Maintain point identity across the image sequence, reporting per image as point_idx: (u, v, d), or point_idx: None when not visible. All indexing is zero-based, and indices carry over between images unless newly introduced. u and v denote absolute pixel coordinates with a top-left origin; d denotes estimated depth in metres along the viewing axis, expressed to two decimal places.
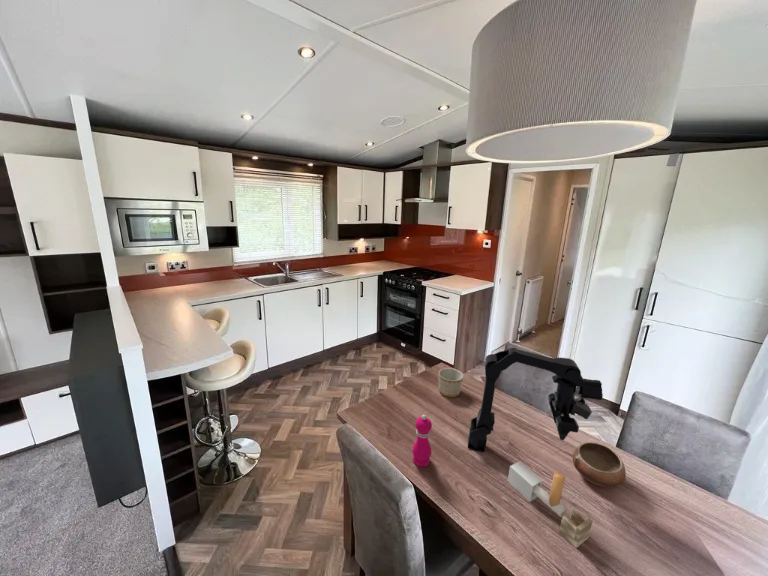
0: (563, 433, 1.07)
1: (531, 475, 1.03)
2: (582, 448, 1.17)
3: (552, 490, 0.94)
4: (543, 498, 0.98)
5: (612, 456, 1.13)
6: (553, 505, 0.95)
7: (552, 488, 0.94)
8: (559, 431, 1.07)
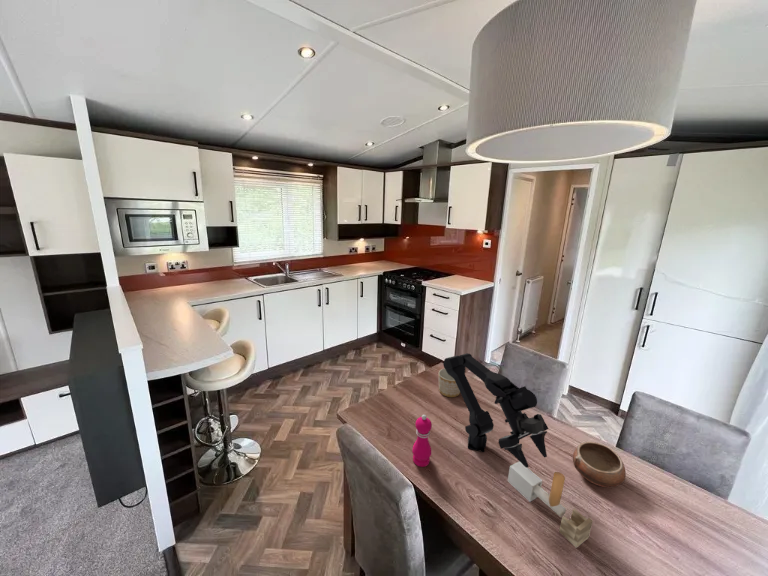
0: (519, 456, 0.99)
1: (531, 475, 1.03)
2: (582, 448, 1.17)
3: (552, 490, 0.94)
4: (543, 498, 0.98)
5: (612, 456, 1.13)
6: (553, 505, 0.95)
7: (552, 488, 0.94)
8: (514, 455, 1.00)
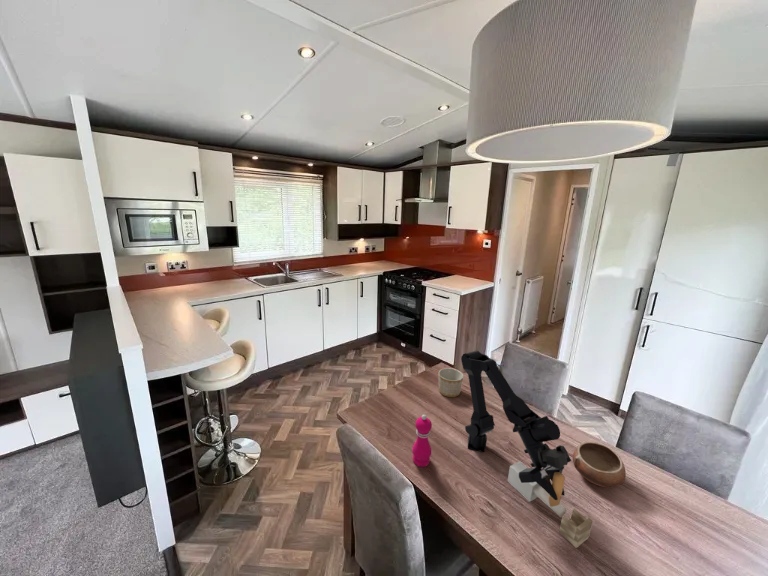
0: (547, 488, 0.94)
1: None
2: (582, 448, 1.17)
3: None
4: (543, 498, 0.98)
5: (612, 456, 1.13)
6: (553, 505, 0.95)
7: None
8: (542, 486, 0.95)
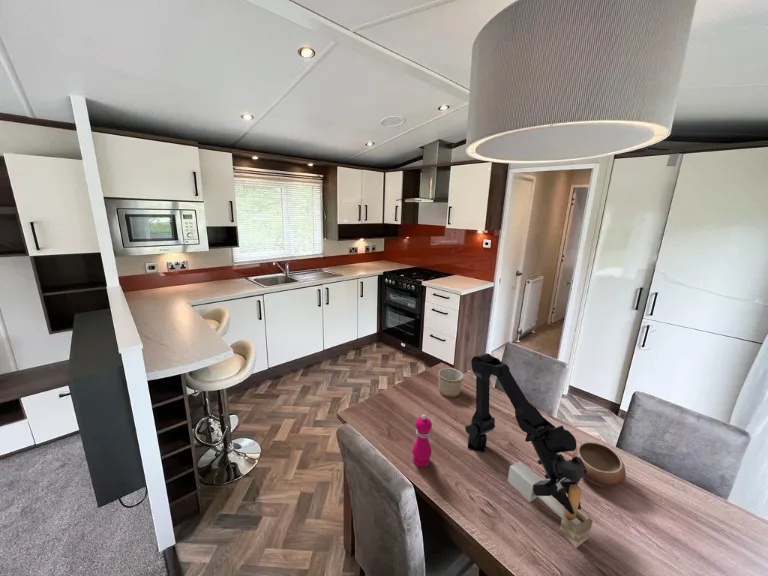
0: (563, 501, 0.90)
1: (531, 475, 1.03)
2: (582, 448, 1.17)
3: None
4: (558, 511, 0.93)
5: (612, 456, 1.13)
6: (569, 519, 0.90)
7: None
8: (557, 499, 0.91)
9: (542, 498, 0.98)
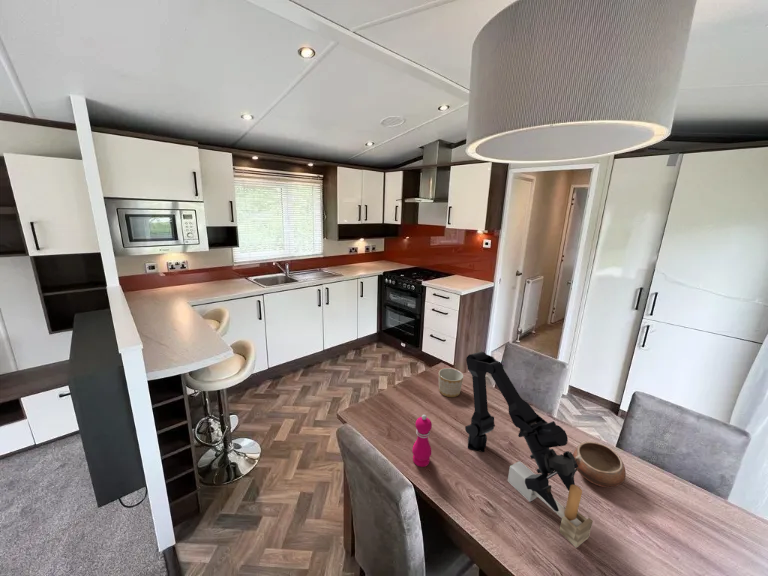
0: (548, 499, 0.91)
1: None
2: (582, 448, 1.17)
3: (568, 504, 0.90)
4: (558, 512, 0.93)
5: (612, 456, 1.13)
6: (569, 519, 0.90)
7: (568, 502, 0.90)
8: (542, 496, 0.92)
9: (542, 498, 0.98)
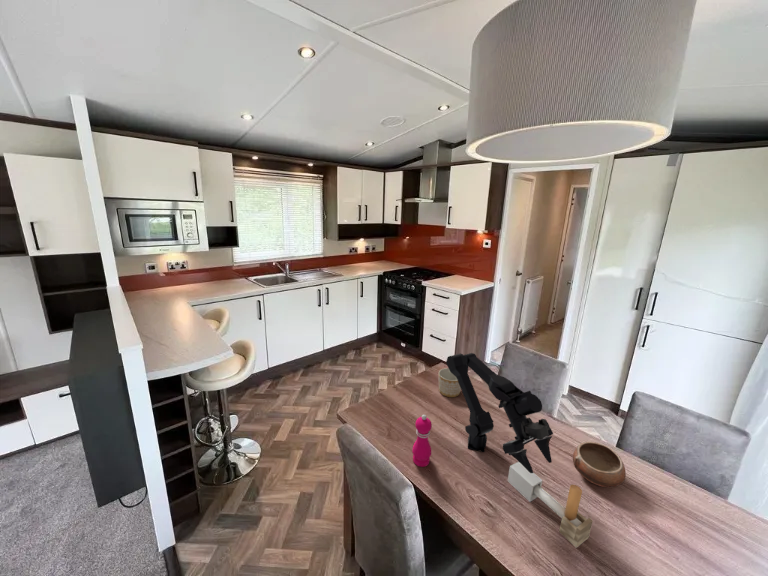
0: (523, 462, 0.98)
1: (531, 475, 1.03)
2: (582, 448, 1.17)
3: (568, 504, 0.90)
4: (558, 512, 0.93)
5: (612, 456, 1.13)
6: (569, 519, 0.90)
7: (568, 502, 0.90)
8: (518, 460, 0.99)
9: (542, 498, 0.98)
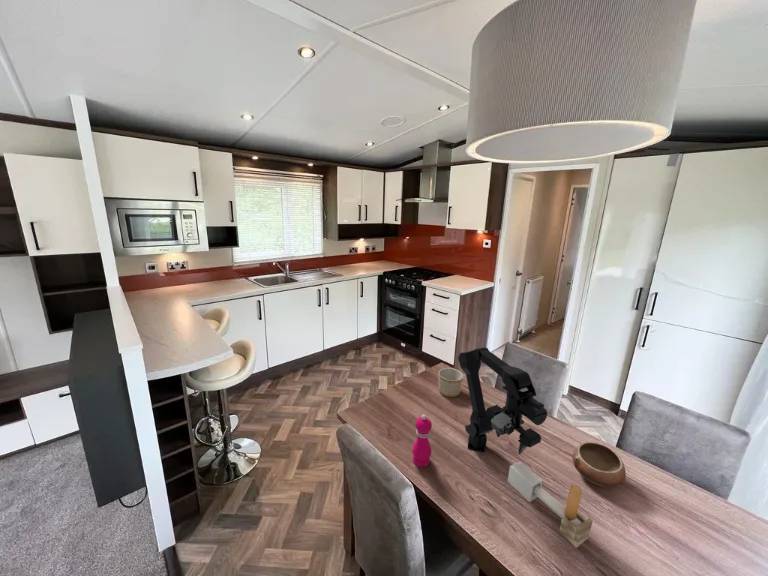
0: None
1: (531, 475, 1.03)
2: (582, 448, 1.17)
3: (568, 504, 0.90)
4: (558, 512, 0.93)
5: (612, 456, 1.13)
6: (569, 519, 0.90)
7: (568, 502, 0.90)
8: None
9: (542, 498, 0.98)
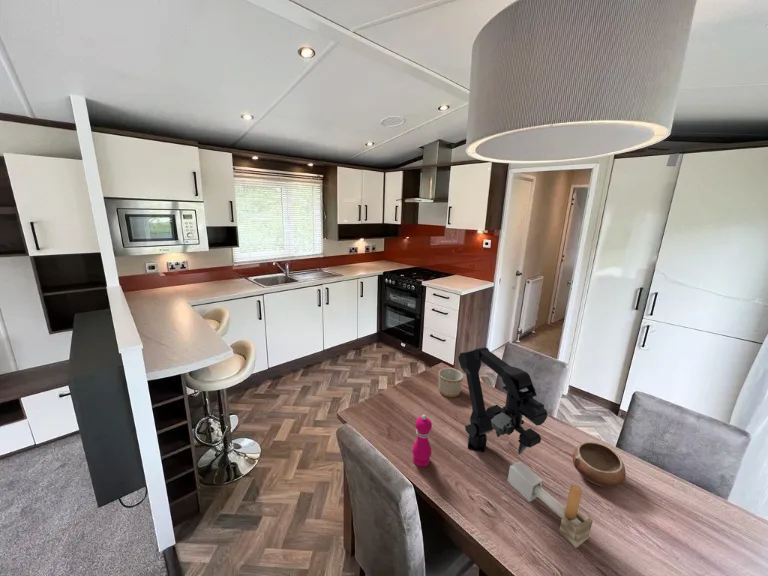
0: None
1: (531, 475, 1.03)
2: (582, 448, 1.17)
3: (568, 504, 0.90)
4: (558, 512, 0.93)
5: (612, 456, 1.13)
6: (569, 519, 0.90)
7: (568, 502, 0.90)
8: None
9: (542, 498, 0.98)
